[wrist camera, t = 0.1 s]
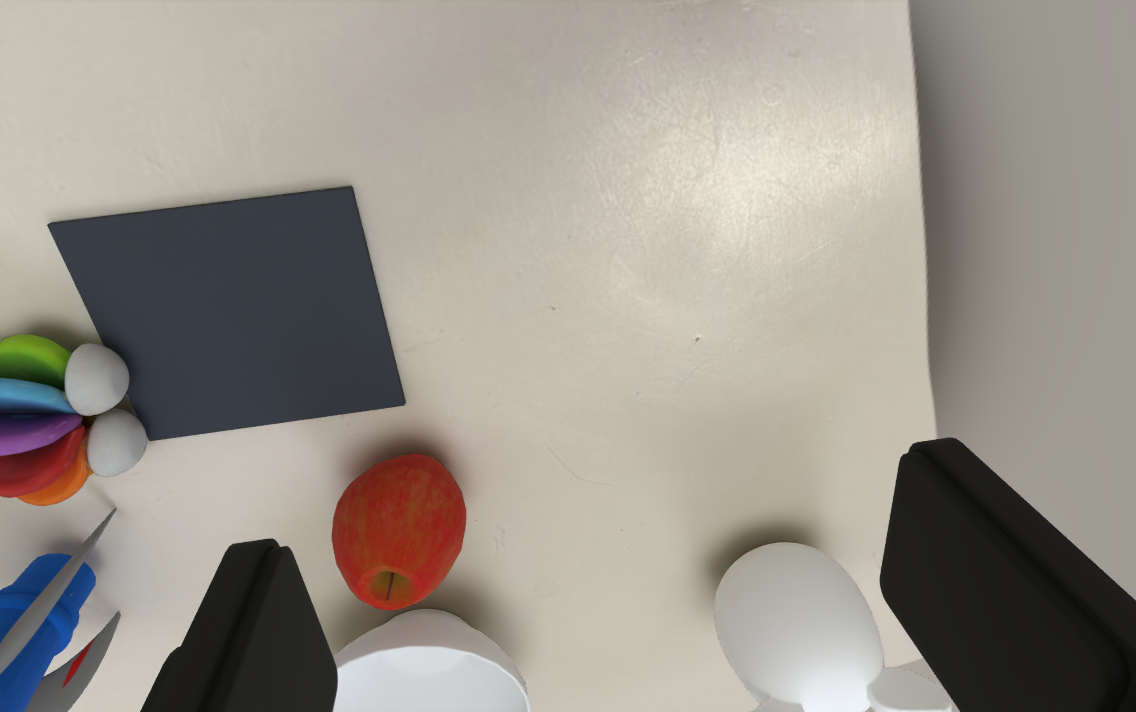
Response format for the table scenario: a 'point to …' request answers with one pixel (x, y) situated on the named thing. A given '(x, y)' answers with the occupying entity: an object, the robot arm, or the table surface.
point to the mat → (237, 310)
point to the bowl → (427, 669)
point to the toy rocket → (48, 632)
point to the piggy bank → (810, 638)
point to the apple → (398, 530)
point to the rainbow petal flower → (62, 418)
